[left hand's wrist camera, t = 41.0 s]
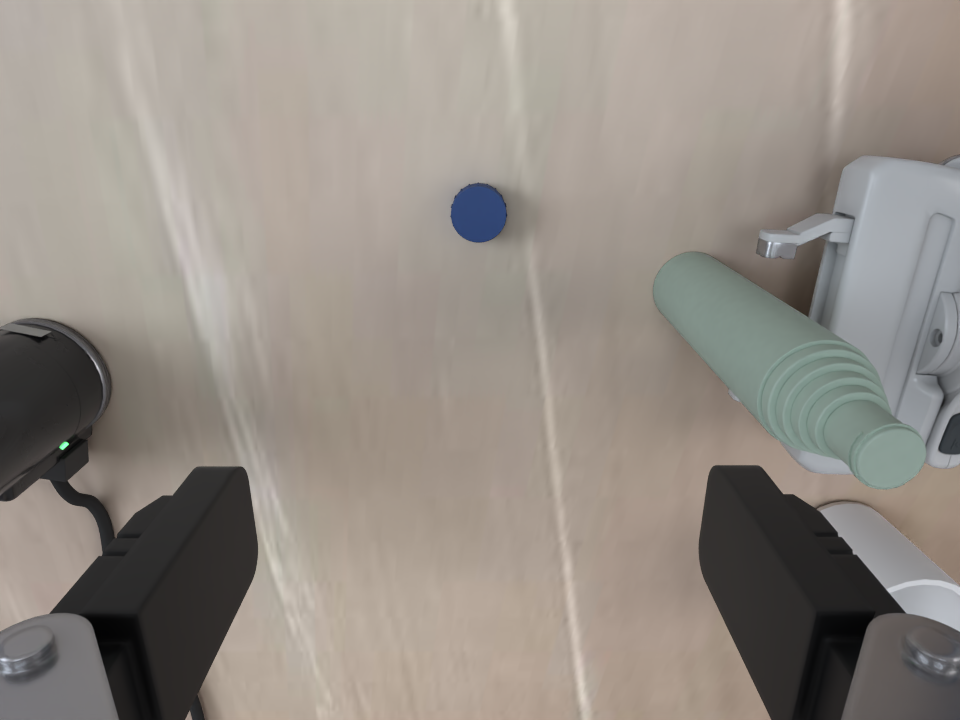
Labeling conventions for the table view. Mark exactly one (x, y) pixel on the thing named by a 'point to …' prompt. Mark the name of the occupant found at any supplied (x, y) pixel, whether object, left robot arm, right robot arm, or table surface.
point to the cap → (478, 212)
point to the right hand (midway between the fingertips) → (746, 317)
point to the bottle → (789, 370)
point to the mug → (896, 562)
